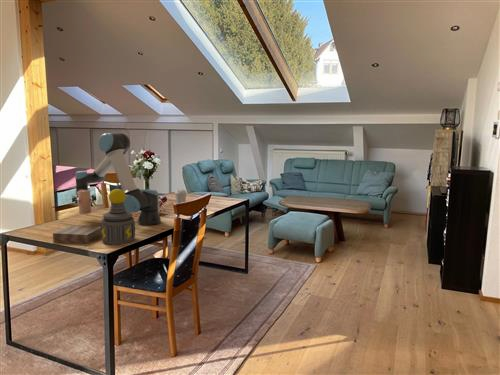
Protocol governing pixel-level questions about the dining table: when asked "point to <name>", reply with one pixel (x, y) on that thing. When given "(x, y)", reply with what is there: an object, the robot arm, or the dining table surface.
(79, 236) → the walnut plinth
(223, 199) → the dining table surface
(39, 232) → the dining table surface
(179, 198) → the coffee cup
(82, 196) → the terracotta canister
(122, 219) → the decorative lamp
